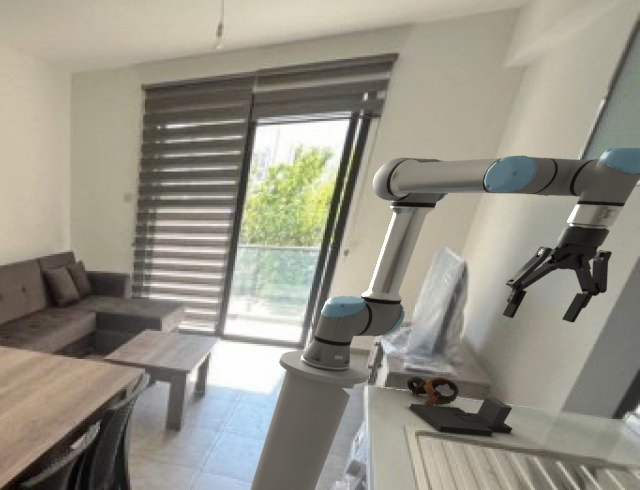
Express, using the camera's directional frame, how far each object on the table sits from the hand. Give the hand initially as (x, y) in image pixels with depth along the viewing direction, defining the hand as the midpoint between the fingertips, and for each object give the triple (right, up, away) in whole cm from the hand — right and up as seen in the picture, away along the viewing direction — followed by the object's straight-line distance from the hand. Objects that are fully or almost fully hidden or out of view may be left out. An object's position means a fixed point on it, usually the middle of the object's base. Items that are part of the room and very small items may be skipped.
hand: (537, 318), depth 119 cm
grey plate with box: (-10, -26, +5) cm, 29 cm away
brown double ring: (-13, -19, +18) cm, 30 cm away
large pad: (-17, -26, +6) cm, 31 cm away
